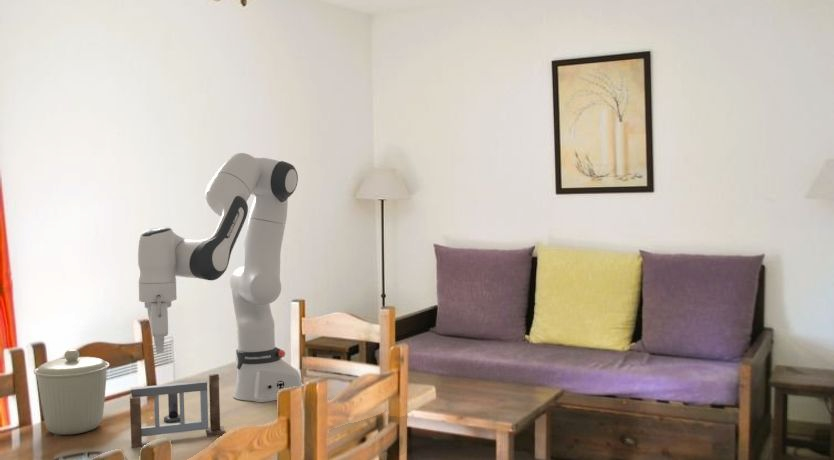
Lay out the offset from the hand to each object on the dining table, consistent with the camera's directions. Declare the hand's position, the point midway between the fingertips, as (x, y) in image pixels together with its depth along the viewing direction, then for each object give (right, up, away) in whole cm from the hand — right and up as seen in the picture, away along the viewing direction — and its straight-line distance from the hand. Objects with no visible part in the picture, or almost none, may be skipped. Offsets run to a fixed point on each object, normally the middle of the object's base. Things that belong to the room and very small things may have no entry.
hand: (158, 348), depth 196 cm
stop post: (-2, -22, +18) cm, 29 cm away
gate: (+2, -21, +2) cm, 21 cm away
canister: (-26, -23, +11) cm, 36 cm away
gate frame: (+4, -23, +2) cm, 23 cm away
